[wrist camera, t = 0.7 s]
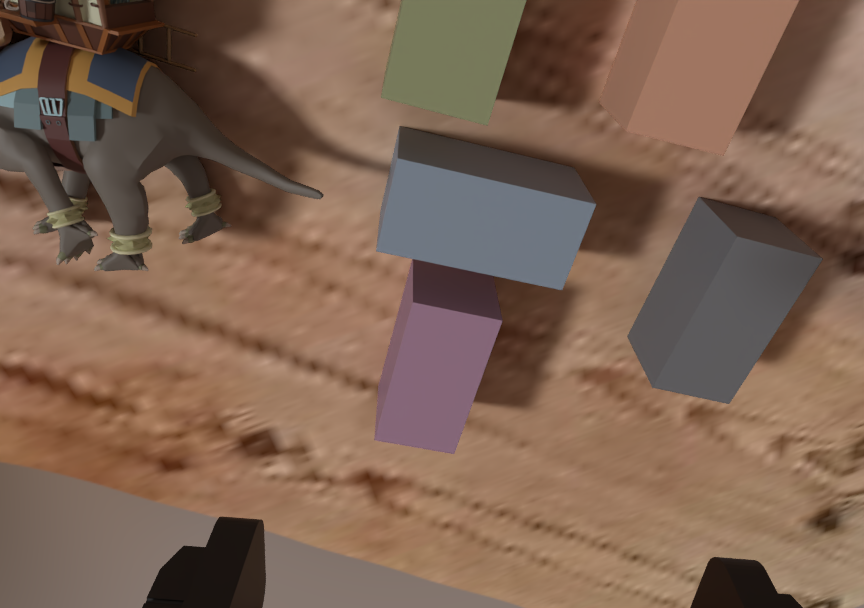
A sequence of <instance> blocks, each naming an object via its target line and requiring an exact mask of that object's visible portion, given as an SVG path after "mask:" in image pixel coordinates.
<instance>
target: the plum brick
mask: <svg viewBox="0 0 864 608" xmlns="http://www.w3.org/2000/svg"><path fill="white" fill-rule="evenodd" d="M501 324H502V316H501V311H500V306H499V301H498V297H497V292H496V287H495V282H494V277H493V276H492V275H487V274H482V273H477V272H473V271H468V270H463V269H458V268H454V267H449V266H444V265H439V264H435V263H430V262H425V261H420V260H416V259H412V262H411V266H410V270H409V274H408V277H407V281H406V285H405V289H404V292H403V296H402V300H401V304H400V307H399V311H398V315H397V319H396V322H395V326H394V330H393V334H392V337H391V341H390V345H389V349H388V352H387V356H386V360H385V364H384V367H383V371H382V375H381V379H380V382H379V387H378V400H377V413H376V426H375V439H374V440H377V441H382V442H388V443H394V444H400V445H405V446H411V447H417V448H423V449H428V450H434V451H440V452H446V453H451V454H454V453H455V450H456V447H457V445H458V442H459V439H460V436H461V434H462V431H463V428H464V425H465V423H466V420H467V417H468V414H469V412H470V409H471V406H472V403H473V401H474V398H475V395H476V392H477V390H478V387H479V384H480V381H481V379H482V376H483V373H484V370H485V368H486V365H487V362H488V359H489V357H490V354H491V351H492V348H493V346H494V343H495V340H496V337H497V335H498V332H499V329H500V326H501Z"/></svg>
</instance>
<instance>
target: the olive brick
mask: <svg viewBox="0 0 864 608" xmlns="http://www.w3.org/2000/svg"><path fill="white" fill-rule="evenodd" d="M525 3H526V0H401V4H400V8H399V13H398V17H397V21H396V26H395V30H394V35H393V39H392V44H391V48H390V53H389V57H388V62H387V66H386V71H385V76H384V82H383V89H382V95H381V98H384V99H388V100H392V101H396V102H399V103H403V104H407V105H411V106H415V107H418V108H422V109H426V110H430V111H434V112H437V113H441V114H445V115H449V116H453V117H456V118H460V119H464V120H468V121H472V122H475V123H479V124H483V125H488V122H489V119H490V116H491V113H492V109H493V106H494V103H495V100H496V96H497V93H498V90H499V87H500V84H501V80H502V77H503V74H504V71H505V68H506V64H507V61H508V58H509V55H510V51H511V48H512V45H513V42H514V39H515V35H516V32H517V29H518V26H519V22H520V19H521V16H522V13H523V10H524V6H525Z"/></svg>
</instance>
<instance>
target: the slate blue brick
mask: <svg viewBox="0 0 864 608" xmlns="http://www.w3.org/2000/svg"><path fill="white" fill-rule="evenodd" d="M595 207H596V203H595V201H594V200H593V198H592V196H591V195H590V193H589V191H588V190H587V188H586V186H585V185H584V183H583V181H582V180H581V178H580V176H579V175H578V173H577V172H576V170H575V168H573V167H569V166H565V165H561V164H557V163H552V162H548V161H544V160H540V159H536V158H532V157H527V156H523V155H519V154H515V153H511V152H506V151H502V150H498V149H494V148H490V147H486V146H481V145H477V144H473V143H469V142H465V141H460V140H456V139H452V138H448V137H444V136H439V135H435V134H431V133H427V132H423V131H419V130H414V129H410V128H406V127H402V126H399V131H398V135H397V140H396V144H395V148H394V153H393V157H392V162H391V166H390V171H389V175H388V180H387V184H386V188H385V193H384V197H383V202H382V206H381V212H380V221H379V230H378V239H377V249H376V251H378V252H382V253H387V254H392V255H397V256H401V257H406V258H411V259H416V260H420V261H425V262H430V263H435V264H439V265H444V266H449V267H454V268H458V269H463V270H468V271H473V272H477V273H482V274H487V275H492V276H496V277H501V278H506V279H511V280H515V281H520V282H525V283H530V284H534V285H539V286H544V287H549V288H553V289H558V290H562V289H563V287H564V284H565V282H566V279H567V277H568V274H569V272H570V269H571V267H572V264H573V262H574V259H575V257H576V254H577V252H578V249H579V247H580V244H581V242H582V239H583V237H584V234H585V232H586V229H587V227H588V224H589V222H590V219H591V217H592V214H593V212H594V209H595Z"/></svg>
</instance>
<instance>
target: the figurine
mask: <svg viewBox="0 0 864 608" xmlns="http://www.w3.org/2000/svg"><path fill="white" fill-rule="evenodd" d="M158 27H165V28H167V59H163V58H160V57H157V56H154V55H151V54H148V53H145V52H143V41H142V36H143V35H144V34H145V33H146V32H147V31H148V30H149V29H153V28H158ZM11 28H12V29H13V30H14V32H17V33H21V34H24V35H28V36H32V37H29V38H27V39H25V40H23V41H20V42H17V43H15V44H12V45H10V43H9V42H11V38H12V30H11ZM171 29H172V30H175V31H178V32H181V33H184V34H188V35H191V36H194V37H197V34H195V33H192V32H189V31H186V30H183V29H180V28H176V27H173V26H170V25H167V24H164V23H162V22H159V21H158V20H156V19H155V12H154V4H153V0H0V169H4V170H7V171H14V172H25V173H26V175H27V176H28V178H29V179H30V181H31V182H32V184H33V185H34V186H35V188H36V189H37V190H38V192H39V194H40V196H41V197H42V199H43V201H44V203H45V205H46V206H47V208H48V210H49V212H48V213H47V216H48V217H46V218H44V219H43V220H41V221H38V222H37V223H36V224H35V225H34V227H33V230H35V231H34V234H39V233H48V232H52V231H55V230H58V232H59V235H60V253H59V255H58V257H57V259H56V262H57V265H59V264H60V263H61V262H63V261H65V263H66V264H68V262H69V261H70V260H71V259H72V258H73V257H74V258H75V260H76V261H77V260H78V258H79V257H80V256H81V255H82V253H83V252H84V251H86V252H87V253H89V254H90V252H91V249H92V247H93V246H94V245H93V242H92V239H91V238H93V237H94V236H98V234H97V233H96V231H93V229H92V228H91V227H90V226H89V225H88V224H87V223H86V221H85V220H84V219H85V218H84V217H82V214H83V213H84V211H85V210H86V209H88V208H87V207H86V205H87V204H88V203H87V202H86V201H87V200H88V198H87V197H86V195H87V191H88V187H89V183H90V180H91V182H92V184H93V186H94V187H95V189H96V191H97V192H98V194H99V196H100V198H101V199H102V201H103V203H104V205H105V207H106V209H107V211H108V213H109V215H110V217H111V220H112V223H113V226H114V227H113V228H112V229H111V230H110V232H109V233H110V235H111V236H110V237H109V238H107V239H108V240H111V241H113V243H112V245H111V247H110V248H111V250H112V251H113V253H112V254H110V255H107V256H106V257H105V258H103V259H99V260H98V262H97V264H98V265H97V266H96V267H95V268H94V270H95V271H98V270H104V271H115V270H146V271H148V268H147V266H146V265H145V264H144V259H143V255H142V253H143V252H147V251H148V250H150V249H151V248H152V243H151V241H150V240H149V239H148V237H149V236H150V234H152V228H150V227H149V226H148V224H149V219H148V202H147V197H146V192H145V189H144V186H143V185H142V184H141V183H140V182H139V181H140V180H142V179H144V178H145V177H146V176H147V175H148V174H150V173H151V172H153V171H155V170H157V169H159V168H161V167H163V166H165V167H167V168H168V169H170V170H171V171H172V172H173V174H174V175H176V176H177V177H178V178H179V179H180V180H181V182H182V183H183V185H184V187H185V189H186V191H187V193H188V195H189V196H188V197H187V198H186V201H188V202H189V203H188V204H187V205H186V206H185V207H187V208H190V209H189V210H192V211H193V212H192V215H193V216H194V217H197V220H196V221H195V222H194V223H193V225H192V226H189V227H188V228H187V229H185V230H182V231H181V232H180V233H179V235H180V237H179V239H184V240H183V242H182V244H186V243H192V242H194V241H198V240H200V239H203V238H205V237H207V236H209V235H211V234H213V233H215V232H217V231H219V230H221V229H222V228H224V227H231V225H230V224H229V223H228V222H223V221H222V218H221V217H219V216H217V215H216V214H215V213H214V211H216V210H218V209H219V208H221V205H222V204H221V203H219V202H220V201H221V200H220V199H219V198H220V197H221V195H217V194H216V190H215V189H212V188H210V187H209V182H208V178H207V175H206V172H205V170H204V168H203V166H202V164H201V162H200V161H199V159H198V157H203V158H207V159H210V160H213V161H216V162H219V163H221V164H223V165H225V166H227V167H230V168H232V169H234V170H236V171H239V172H241V173H244V174H246V175H249V176H251V177H254V178H256V179H259V180H261V181H263V182H266V183H268V184H270V185H272V186H275V187H277V188H279V189H282V190H284V191H286V192H289V193H293V194H297V195H301V196H305V197H310V198H314V199H321V198H322V197H323V194H322V193H321V192H320V191H319V190H316V189H314V188H311V187H309V186H306V185H303V184H300V183H297V182H295V181H292V180H290V179H288V178H286V177H285V176H283V175H281V174H280V173H278V172H277V171H275V170H274V169H272V168H271V167H269V166H268V165H266V164H265V163H263V162H261V161H260V160H258V159H257V158H255V157H253V156H252V155H250V154H248V153H247V152H245V151H244V150H242V149H241V148H239V147H238V146H236V145H235V144H234V143H232V142H231V141H230V140H229V139H227V138H226V137H225V136H224V135H223V134H222V133H221V132H220V131H219V130H218V129H217V128H216V127H215V126H214V124H213V123H212V122H211V121H210V120H209V118H208V117H207V116H206V115H205V114H204V112H203V111H202V110H201V109H200V108H199V106H198V105H197V104H196V103H195V102H194V101H193V100H192V99H191V98H190V97H189V96H188V95H187V94H186V93H185V92H184V91H183V90H182V89H181V88H180V87H179V86H178V85H177V84H176V83H174V82H173V81H172V80H171V79H170V78H169V77H168V76H167V75H166V74H164V73H163V72H162V71H161V70H160V69H159V68H158V66H157V65H156V64H154V63H152V62H150V61H148V60H146V59H144V58H143V57H141V56H139V55H137V54H140V55H143V56H146V57H150V58H153V59H156V60H159V61H162V62H165V63H168V64H172V65H175V66H178V67H181V68H184V69H187V70H190V71H194V72H196V71H197V69H195V68H192V67H189V66H186V65H182V64H179V63H176V62H173V61H171ZM137 40H138V50H135V49H132V48H131V46H132V45H133V44H134V43H135V42H136V41H137ZM130 51H131V52H130ZM133 52H134V53H133ZM135 53H137V54H135ZM197 156H198V157H197ZM56 170H62V171H64V174H63V179H62V183H61V181H60V179H59V176H58V174H57V171H56Z"/></svg>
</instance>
